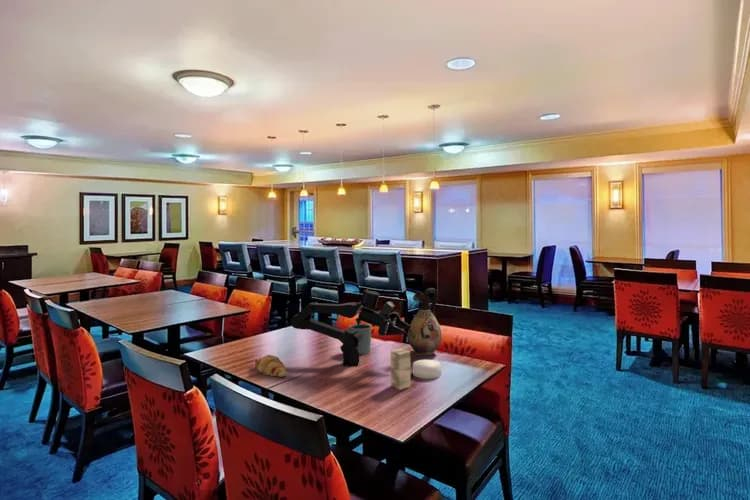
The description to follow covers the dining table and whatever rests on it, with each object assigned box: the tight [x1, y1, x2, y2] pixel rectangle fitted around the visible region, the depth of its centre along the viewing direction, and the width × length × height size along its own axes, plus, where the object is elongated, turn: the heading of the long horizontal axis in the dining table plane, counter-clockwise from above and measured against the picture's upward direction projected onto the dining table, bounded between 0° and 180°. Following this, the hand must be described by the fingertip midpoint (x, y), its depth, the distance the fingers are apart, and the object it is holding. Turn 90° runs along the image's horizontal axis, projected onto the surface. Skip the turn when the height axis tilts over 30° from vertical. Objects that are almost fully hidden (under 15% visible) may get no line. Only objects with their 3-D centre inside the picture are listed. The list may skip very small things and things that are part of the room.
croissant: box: [254, 354, 287, 378], centre depth 175 cm, size 21×10×8 cm, turn 46°
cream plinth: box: [412, 359, 442, 380], centre depth 170 cm, size 11×11×4 cm
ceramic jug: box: [407, 287, 443, 356], centre depth 197 cm, size 17×15×30 cm
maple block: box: [390, 348, 411, 391], centre depth 157 cm, size 5×5×13 cm
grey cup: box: [349, 323, 372, 355], centre depth 200 cm, size 10×10×12 cm
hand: (408, 330), depth 175 cm, fingers open, 9 cm apart
